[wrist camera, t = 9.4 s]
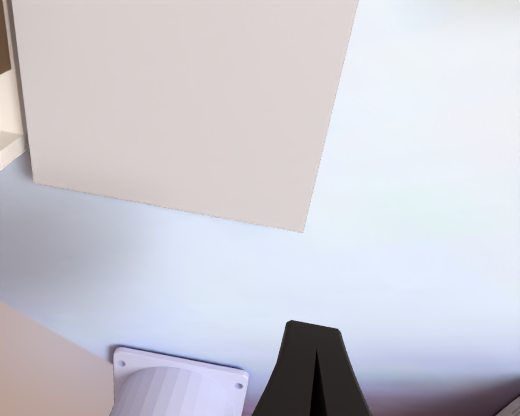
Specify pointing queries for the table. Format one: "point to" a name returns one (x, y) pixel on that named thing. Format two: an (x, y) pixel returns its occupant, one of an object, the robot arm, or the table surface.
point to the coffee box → (511, 409)
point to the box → (12, 100)
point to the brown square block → (3, 43)
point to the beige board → (184, 100)
